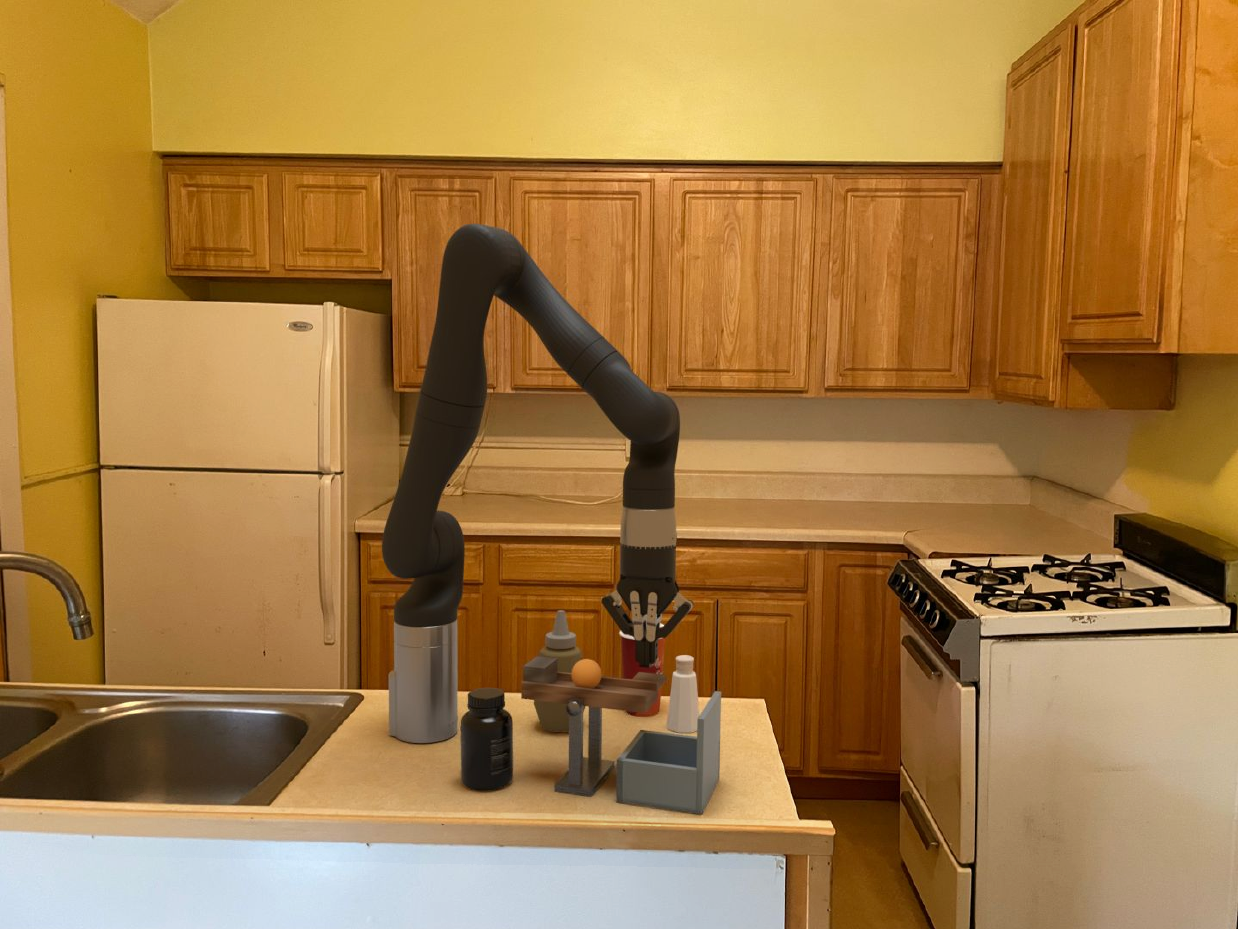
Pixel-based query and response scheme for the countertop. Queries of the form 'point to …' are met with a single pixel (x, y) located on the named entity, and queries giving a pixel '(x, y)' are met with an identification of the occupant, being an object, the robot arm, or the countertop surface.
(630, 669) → the paper cup
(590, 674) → the ball
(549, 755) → the countertop surface
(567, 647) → the squeeze bottle
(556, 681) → the lever
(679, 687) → the salt shaker
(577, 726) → the pivot stand
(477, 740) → the supplement bottle
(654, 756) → the cup
